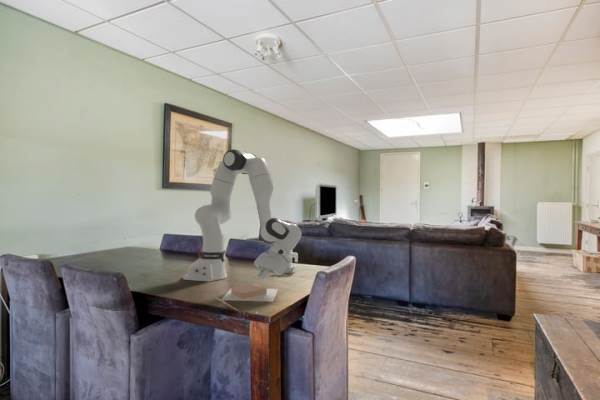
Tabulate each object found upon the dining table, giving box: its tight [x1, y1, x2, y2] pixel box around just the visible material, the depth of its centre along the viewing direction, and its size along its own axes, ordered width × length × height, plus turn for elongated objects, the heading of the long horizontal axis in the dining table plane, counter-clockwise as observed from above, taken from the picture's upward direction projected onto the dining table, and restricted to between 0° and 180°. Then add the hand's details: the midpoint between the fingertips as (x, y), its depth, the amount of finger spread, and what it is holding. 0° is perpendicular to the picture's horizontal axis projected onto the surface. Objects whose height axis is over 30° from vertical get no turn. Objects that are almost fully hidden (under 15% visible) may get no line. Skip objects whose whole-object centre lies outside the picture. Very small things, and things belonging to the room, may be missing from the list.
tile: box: [230, 283, 268, 300], centre depth 145 cm, size 3×10×12 cm
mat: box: [220, 288, 279, 302], centre depth 146 cm, size 22×18×1 cm
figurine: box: [284, 249, 299, 274], centre depth 190 cm, size 7×9×15 cm
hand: (259, 277), depth 148 cm, fingers closed
